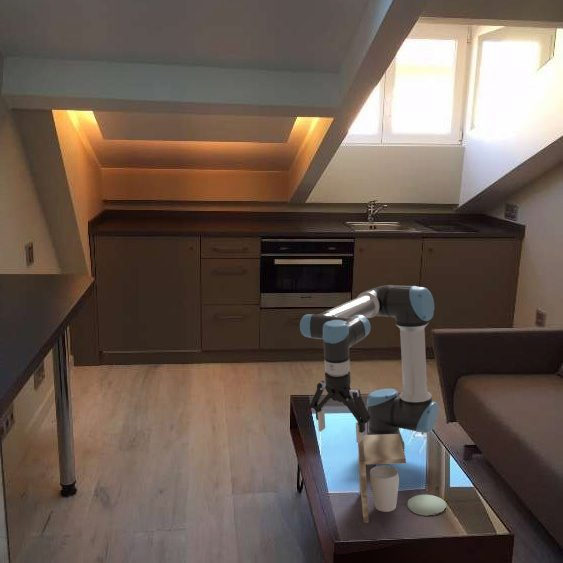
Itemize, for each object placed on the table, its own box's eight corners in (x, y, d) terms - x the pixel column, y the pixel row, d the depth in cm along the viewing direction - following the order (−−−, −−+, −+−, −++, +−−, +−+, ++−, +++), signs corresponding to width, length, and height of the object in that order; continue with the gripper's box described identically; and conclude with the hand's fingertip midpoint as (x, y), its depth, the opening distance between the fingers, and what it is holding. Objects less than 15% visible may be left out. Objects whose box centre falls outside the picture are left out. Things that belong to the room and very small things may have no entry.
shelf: (401, 492, 207) (399, 433, 203) (408, 521, 189) (405, 458, 186) (360, 493, 208) (357, 435, 205) (363, 522, 190) (360, 459, 187)
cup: (399, 514, 193) (398, 478, 191) (370, 513, 195) (368, 478, 193) (400, 500, 202) (398, 465, 200) (372, 498, 204) (370, 464, 202)
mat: (418, 492, 206) (418, 491, 206) (452, 502, 198) (452, 501, 198) (400, 508, 197) (400, 507, 197) (435, 520, 189) (435, 518, 189)
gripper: (296, 368, 190) (300, 430, 196) (368, 385, 175) (370, 451, 181) (309, 359, 196) (313, 420, 202) (380, 375, 181) (382, 440, 187)
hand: (340, 435), depth 191 cm, fingers open, 13 cm apart
